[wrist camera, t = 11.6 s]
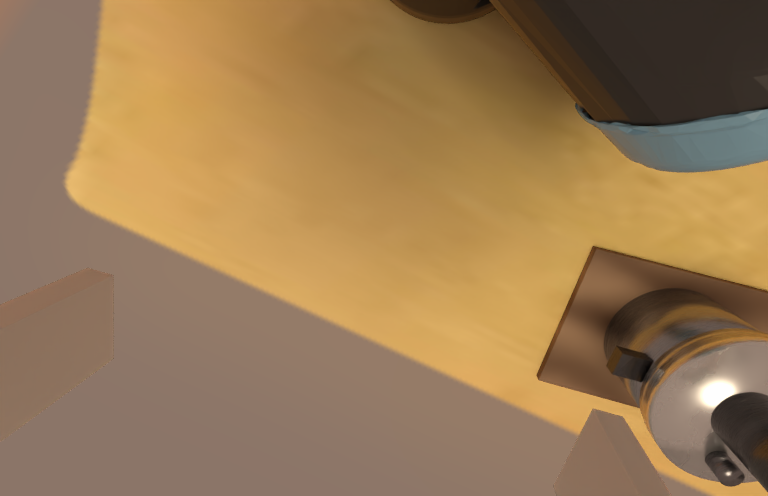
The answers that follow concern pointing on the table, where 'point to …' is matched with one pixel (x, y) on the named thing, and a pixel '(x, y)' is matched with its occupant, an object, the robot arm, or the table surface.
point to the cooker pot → (662, 333)
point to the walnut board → (607, 296)
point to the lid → (714, 408)
